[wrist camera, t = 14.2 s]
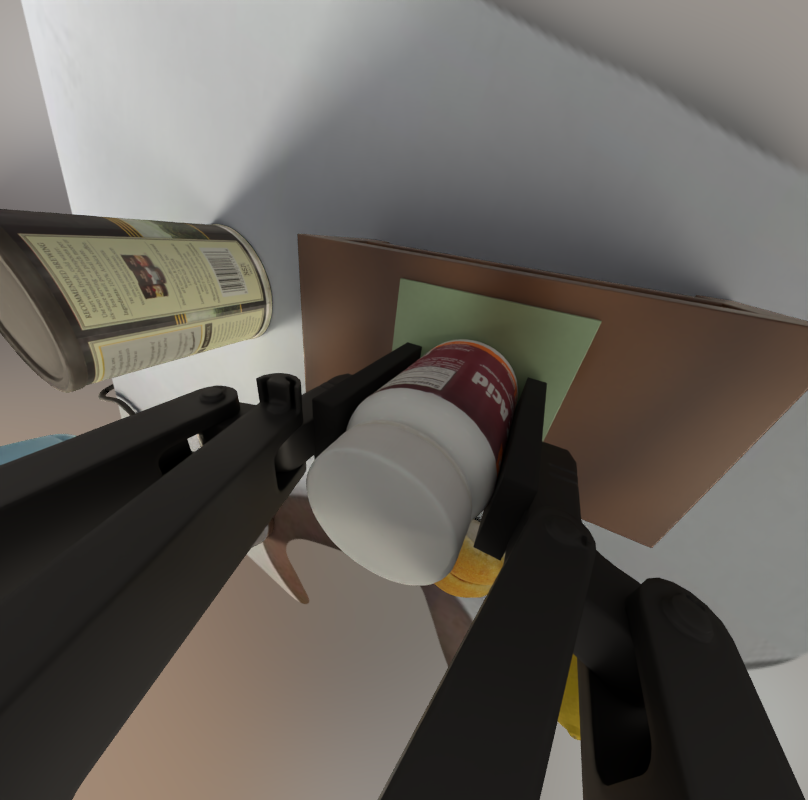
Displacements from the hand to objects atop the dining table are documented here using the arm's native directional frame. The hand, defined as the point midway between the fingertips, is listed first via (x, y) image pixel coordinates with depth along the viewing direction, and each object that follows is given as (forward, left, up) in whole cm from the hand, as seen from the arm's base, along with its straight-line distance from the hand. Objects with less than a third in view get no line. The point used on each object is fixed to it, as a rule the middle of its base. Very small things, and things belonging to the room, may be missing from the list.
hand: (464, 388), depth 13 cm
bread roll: (+3, -20, -8) cm, 22 cm away
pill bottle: (0, 0, 0) cm, 0 cm away
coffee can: (-25, -1, -8) cm, 26 cm away
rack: (0, 0, -8) cm, 8 cm away
